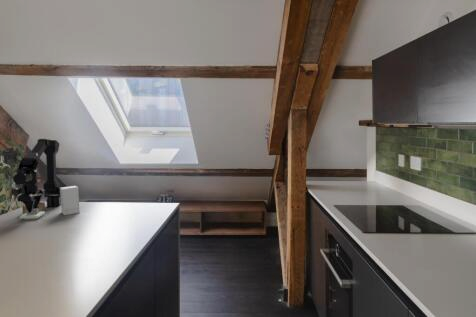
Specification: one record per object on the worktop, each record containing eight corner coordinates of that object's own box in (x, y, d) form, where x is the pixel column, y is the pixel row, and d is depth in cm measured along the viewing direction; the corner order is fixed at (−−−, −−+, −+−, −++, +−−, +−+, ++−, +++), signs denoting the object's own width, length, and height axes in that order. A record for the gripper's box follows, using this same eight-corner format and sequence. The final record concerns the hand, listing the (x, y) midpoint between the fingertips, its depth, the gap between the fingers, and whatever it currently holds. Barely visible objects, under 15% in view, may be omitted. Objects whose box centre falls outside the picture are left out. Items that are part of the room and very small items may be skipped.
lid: (45, 215, 172) (44, 206, 172) (38, 219, 164) (38, 210, 163) (27, 215, 170) (26, 207, 170) (19, 220, 162) (19, 211, 161)
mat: (53, 211, 180) (52, 211, 180) (41, 220, 164) (41, 219, 164) (31, 212, 178) (31, 212, 178) (17, 221, 162) (17, 220, 162)
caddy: (45, 210, 180) (44, 202, 180) (39, 214, 172) (38, 205, 172) (29, 211, 179) (28, 202, 178) (22, 215, 171) (22, 206, 170)
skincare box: (77, 211, 182) (76, 185, 180) (80, 213, 177) (79, 186, 176) (60, 213, 177) (59, 186, 175) (63, 215, 172) (61, 188, 171)
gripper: (21, 178, 173) (23, 207, 174) (4, 185, 154) (6, 216, 156) (44, 178, 175) (46, 206, 176) (29, 184, 157) (31, 215, 158)
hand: (32, 210), depth 167 cm, fingers open, 6 cm apart
